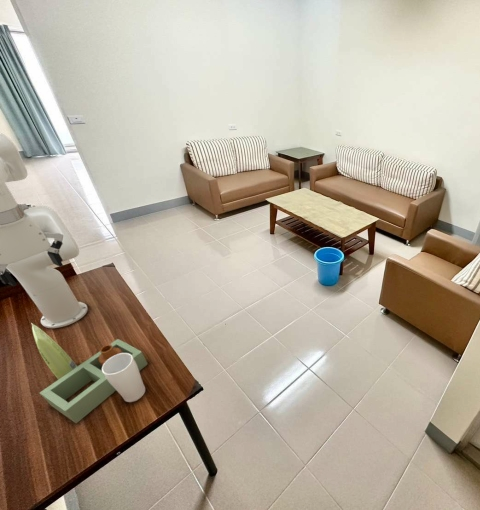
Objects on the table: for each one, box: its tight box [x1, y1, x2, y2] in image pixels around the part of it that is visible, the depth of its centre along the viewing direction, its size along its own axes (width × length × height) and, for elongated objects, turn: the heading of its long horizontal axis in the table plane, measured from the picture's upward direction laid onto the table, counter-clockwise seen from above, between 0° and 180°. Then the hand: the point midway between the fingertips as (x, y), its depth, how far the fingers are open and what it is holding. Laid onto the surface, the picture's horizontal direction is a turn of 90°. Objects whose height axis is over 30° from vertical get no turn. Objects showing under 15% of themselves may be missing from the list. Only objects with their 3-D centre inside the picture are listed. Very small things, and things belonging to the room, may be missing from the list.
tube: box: [30, 322, 79, 380], centre depth 77 cm, size 6×5×20 cm
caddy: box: [39, 338, 148, 424], centre depth 79 cm, size 11×20×6 cm, turn 157°
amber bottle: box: [98, 344, 122, 366], centre depth 81 cm, size 5×5×11 cm
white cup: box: [102, 353, 146, 403], centre depth 75 cm, size 7×7×15 cm
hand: (36, 273), depth 71 cm, fingers open, 9 cm apart
